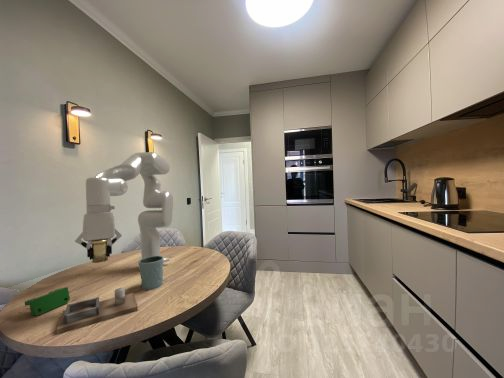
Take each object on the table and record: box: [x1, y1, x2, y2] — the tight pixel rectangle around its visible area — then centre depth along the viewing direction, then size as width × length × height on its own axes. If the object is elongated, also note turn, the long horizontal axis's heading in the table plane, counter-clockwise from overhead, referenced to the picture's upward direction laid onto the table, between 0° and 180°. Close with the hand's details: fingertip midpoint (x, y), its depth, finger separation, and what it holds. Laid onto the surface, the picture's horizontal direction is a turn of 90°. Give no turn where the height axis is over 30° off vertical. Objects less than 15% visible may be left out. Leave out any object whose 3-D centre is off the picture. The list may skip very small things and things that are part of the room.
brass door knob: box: [91, 239, 109, 264], centre depth 86 cm, size 6×6×8 cm
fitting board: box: [56, 287, 139, 335], centre depth 80 cm, size 22×13×6 cm, turn 123°
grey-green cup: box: [138, 255, 164, 291], centre depth 101 cm, size 10×10×12 cm
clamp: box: [24, 286, 71, 317], centre depth 84 cm, size 12×6×9 cm, turn 154°
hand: (100, 256), depth 86 cm, fingers closed on brass door knob, 5 cm apart
